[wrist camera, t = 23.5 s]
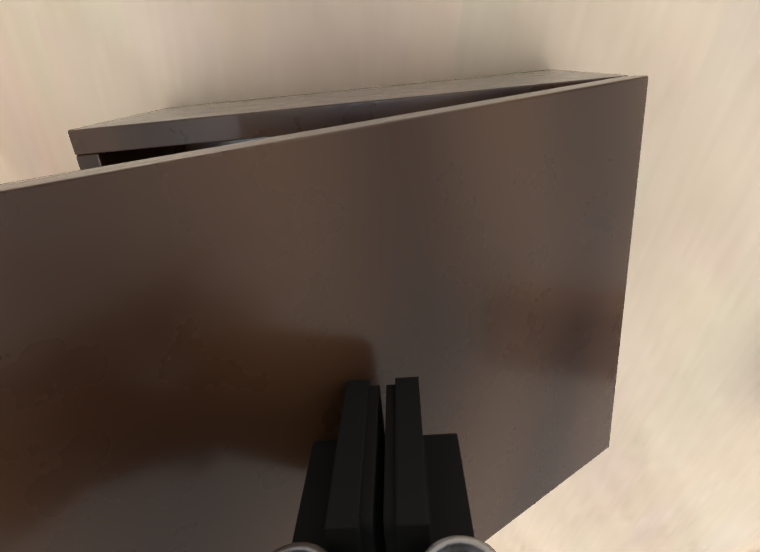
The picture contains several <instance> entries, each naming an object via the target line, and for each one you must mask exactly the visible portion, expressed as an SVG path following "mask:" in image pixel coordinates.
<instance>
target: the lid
mask: <svg viewBox="0 0 760 552" xmlns="http://www.w3.org/2000/svg"><path fill="white" fill-rule="evenodd" d="M647 85H648V76H622V77H617V78H611V79H605V80H599V81H593V82H588V83H582V84H576V85H570V86H565V87H559V88H553V89H547V90H541V91H536V92H530V93H524V94H518V95H513V96H507V97H501V98H495V99H489V100H484V101H478V102H472V103H466V104H461V105H455V106H449V107H443V108H437V109H432V110H426V111H420V112H414V113H408V114H403V115H397V116H391V117H385V118H380V119H374V120H368V121H362V122H356V123H351V124H345V125H339V126H333V127H328V128H322V129H316V130H310V131H304V132H299V133H293V134H287V135H281V136H276V137H270V138H264V139H258V140H252V141H247V142H241V143H235V144H229V145H224V146H218V147H212V148H206V149H200V150H195V151H189V152H183V153H177V154H172V155H166V156H160V157H154V158H148V159H143V160H137V161H131V162H125V163H120V164H114V165H108V166H102V167H96V168H91V169H85V170H79V171H73V172H68V173H62V174H56V175H50V176H44V177H39V178H33V179H27V180H21V181H16V182H10V183H4V184H0V552H273V551H275V550H276V549H278V548H280V547H281V546H284V545H287V544H290V543H292V540H293V535H294V531H295V526H296V521H297V516H298V512H299V507H300V502H301V497H302V493H303V488H304V483H305V478H306V474H307V469H308V464H309V459H310V455H311V450H312V446H313V443H314V442H315V441H322V440H337V439H338V433H339V426H340V419H341V412H342V406H343V399H344V392H345V385H346V382H347V381H354V380H370V381H371V386H375V385H379V386H380V392H381V401H382V410H383V419H384V428H385V421H386V385H392V384H395V378H402V377H419V390H420V404H421V417H422V431H423V435H431V434H449V433H457V435H458V441H459V447H460V453H461V459H462V465H463V471H464V477H465V483H466V489H467V495H468V501H469V507H470V513H471V519H472V525H473V531H474V537H475V538H478V539H479V540H481V541H483V542H485V541H486V540H487V539H489V538H490V537H491V536H493V535H494V534H495V533H497V532H498V531H499V530H500V529H502V528H503V527H504V526H506V525H507V524H508V523H510V522H511V521H512V520H514V519H515V518H516V517H517V516H519V515H520V514H521V513H523V512H524V511H525V510H527V509H528V508H529V507H531V506H532V505H533V504H535V503H536V502H537V501H538V500H540V499H541V498H542V497H544V496H545V495H546V494H548V493H549V492H550V491H552V490H553V489H554V488H555V487H557V486H558V485H559V484H561V483H562V482H563V481H565V480H566V479H567V478H569V477H570V476H571V475H573V474H574V473H575V472H576V471H578V470H579V469H580V468H582V467H583V466H584V465H586V464H587V463H588V462H590V461H591V460H592V459H593V458H595V457H596V456H597V455H599V454H600V453H601V452H603V451H604V450H605V449H607V448H608V447H609V440H610V430H611V421H612V412H613V402H614V393H615V384H616V374H617V365H618V356H619V346H620V337H621V328H622V318H623V309H624V300H625V290H626V281H627V272H628V262H629V253H630V244H631V234H632V225H633V216H634V206H635V197H636V187H637V178H638V169H639V159H640V150H641V141H642V131H643V122H644V113H645V103H646V94H647Z"/></svg>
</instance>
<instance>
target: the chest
mask: <svg viewBox="0 0 760 552" xmlns="http://www.w3.org/2000/svg"><path fill="white" fill-rule="evenodd" d="M622 76H627V75H617V74H603V73H590V72H577V71H564V70H544V71H534V72H524V73H514V74H504V75H494V76H484V77H474V78H464V79H454V80H444V81H434V82H424V83H414V84H404V85H394V86H384V87H374V88H364V89H354V90H344V91H333V92H323V93H313V94H303V95H293V96H283V97H273V98H263V99H253V100H243V101H233V102H223V103H213V104H203V105H193V106H183V107H173V108H165V109H161V110H156V111H152V112H147V113H143V114H139V115H134V116H130V117H125V118H121V119H116V120H112V121H107V122H103V123H99V124H94V125H90V126H85V127H81V128H76V129H72V130H69V131H68V134H69V137H70V140H71V143H72V146H73V149H74V152H75V154H76V155H77V161H78V164H79V167H80V170H85V169H91V168H96V167H102V166H108V165H114V164H120V163H125V162H131V161H137V160H143V159H148V158H154V157H160V156H166V155H172V154H177V153H183V152H189V151H195V150H200V149H206V148H212V147H218V146H224V145H229V144H235V143H241V142H247V141H252V140H258V139H264V138H270V137H276V136H281V135H287V134H293V133H299V132H304V131H310V130H316V129H322V128H328V127H333V126H339V125H345V124H351V123H356V122H362V121H368V120H374V119H380V118H385V117H391V116H397V115H403V114H408V113H414V112H420V111H426V110H432V109H437V108H443V107H449V106H455V105H461V104H466V103H472V102H478V101H484V100H489V99H495V98H501V97H507V96H513V95H518V94H524V93H530V92H536V91H541V90H547V89H553V88H559V87H565V86H570V85H576V84H582V83H588V82H593V81H599V80H605V79H611V78H617V77H622Z"/></svg>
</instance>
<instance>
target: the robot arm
mask: <svg viewBox="0 0 760 552" xmlns="http://www.w3.org/2000/svg"><path fill="white" fill-rule="evenodd" d="M273 552H496V551H495V550H494V549H493V548H492V547H491V546H490V545H489V544H487V543H485V542H483V541H481V540H479V539H478V538H475V537H474V531H473V525H472V519H471V513H470V507H469V501H468V495H467V489H466V483H465V477H464V471H463V465H462V459H461V453H460V447H459V441H458V435H457V433H449V434H431V435H423V431H422V417H421V404H420V390H419V377H402V378H395V384H392V385H386V421H385V428H384V419H383V410H382V401H381V392H380V386H379V385H375V386H371V381H370V380H354V381H347V382H346V385H345V392H344V399H343V406H342V412H341V419H340V426H339V433H338V439H337V440H322V441H315V442H314V443H313V446H312V450H311V455H310V459H309V464H308V469H307V474H306V478H305V483H304V488H303V493H302V497H301V502H300V507H299V512H298V516H297V521H296V526H295V531H294V535H293V540H292V543H290V544H287V545H284V546H281V547H280V548H278V549H276V550H275V551H273Z"/></svg>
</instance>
